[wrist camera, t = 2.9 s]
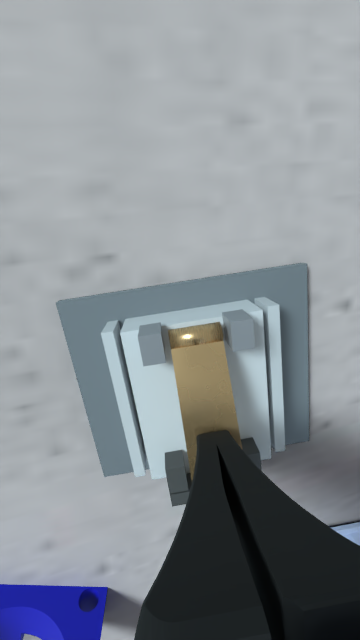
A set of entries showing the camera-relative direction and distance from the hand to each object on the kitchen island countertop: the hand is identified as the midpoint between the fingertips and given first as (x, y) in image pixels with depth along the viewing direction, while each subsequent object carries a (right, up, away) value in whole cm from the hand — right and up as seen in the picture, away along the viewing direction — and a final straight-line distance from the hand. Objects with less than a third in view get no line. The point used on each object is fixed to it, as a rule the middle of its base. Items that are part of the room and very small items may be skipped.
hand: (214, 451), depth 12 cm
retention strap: (0, +1, +1) cm, 2 cm away
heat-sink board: (0, +2, +6) cm, 6 cm away
